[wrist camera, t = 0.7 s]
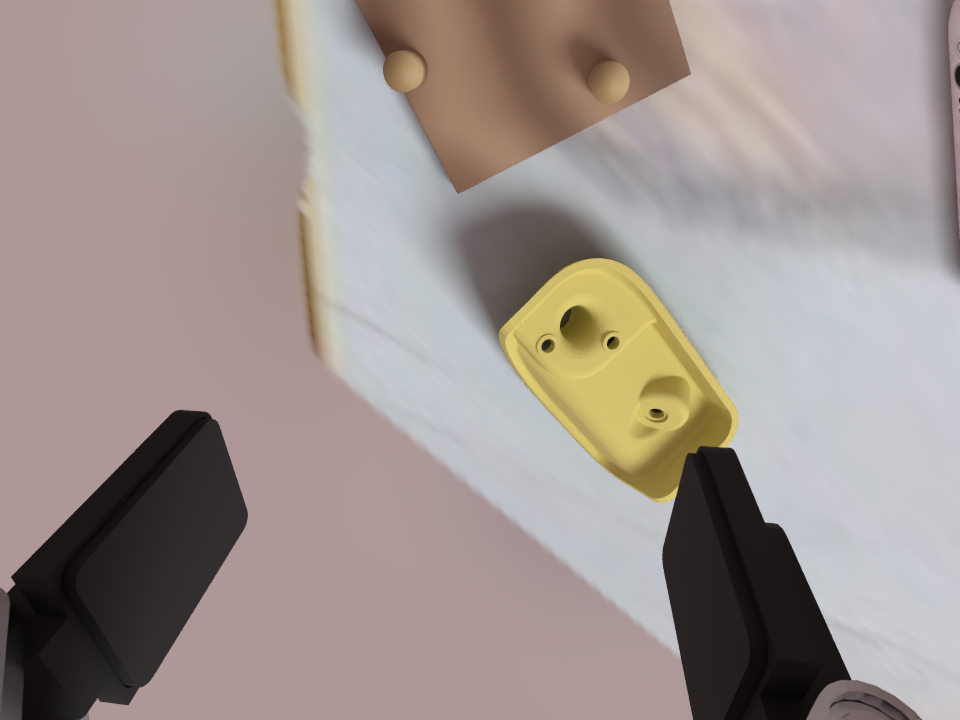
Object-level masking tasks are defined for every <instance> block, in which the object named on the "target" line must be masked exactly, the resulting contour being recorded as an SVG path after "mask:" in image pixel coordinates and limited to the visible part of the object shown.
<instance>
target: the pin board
mask: <svg viewBox="0 0 960 720" xmlns="http://www.w3.org/2000/svg"><path fill="white" fill-rule="evenodd" d="M356 1H357V3H358V5H359V7H360V9H361V11H362V13H363V15H364V16H365V18H366V20H367V22H368V24H369V26H370V28H371V30H372V32H373V34H374V36H375V37H376V39H377V41H378V43H379V45H380V47H381V49H382V51H383V53H384V55H385V57H386V60H385V62H384V66H383V74H384V78H385V80H386V82H387V84H388V85H389V86H390V87H391V88H392V89H393V90H395V91H398V92H404V93H405V95H406V97H407V98H408V100H409V102H410V104H411V106H412V108H413V110H414V112H415V114H416V116H417V118H418V119H419V121H420V123H421V125H422V127H423V129H424V131H425V133H426V135H427V137H428V139H429V140H430V142H431V144H432V146H433V148H434V150H435V152H436V154H437V156H438V158H439V160H440V161H441V163H442V165H443V167H444V169H445V171H446V173H447V175H448V177H449V179H450V181H451V182H452V184H453V186H454V188H455V190H456V192H457V194H459V193H461V192H463V191H465V190H467V189H469V188H471V187H473V186H475V185H477V184H479V183H480V182H482V181H484V180H486V179H488V178H490V177H492V176H494V175H496V174H498V173H500V172H502V171H504V170H506V169H508V168H510V167H512V166H514V165H515V164H517V163H519V162H521V161H523V160H525V159H527V158H529V157H531V156H533V155H535V154H537V153H539V152H541V151H543V150H545V149H547V148H549V147H550V146H552V145H554V144H556V143H558V142H560V141H562V140H564V139H566V138H568V137H570V136H572V135H574V134H576V133H578V132H580V131H582V130H584V129H585V128H587V127H589V126H591V125H593V124H595V123H597V122H599V121H601V120H603V119H605V118H607V117H609V116H611V115H613V114H615V113H617V112H619V111H620V110H622V109H624V108H626V107H628V106H630V105H632V104H634V103H636V102H638V101H640V100H642V99H644V98H646V97H648V96H650V95H652V94H654V93H655V92H657V91H659V90H661V89H663V88H665V87H667V86H669V85H671V84H673V83H675V82H677V81H679V80H681V79H683V78H685V77H687V76H689V75H690V74H691V72H690V69H689V66H688V62H687V59H686V56H685V53H684V49H683V46H682V43H681V39H680V36H679V33H678V29H677V26H676V23H675V19H674V16H673V13H672V9H671V6H670V3H669V0H356Z"/></svg>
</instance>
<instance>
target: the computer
mask: <svg viewBox="0 0 960 720" xmlns="http://www.w3.org/2000/svg"><path fill="white" fill-rule="evenodd" d="M948 41H949V59H950V77H951V94H952V112H953V130H954V148H955V166H956V183H957V201H958V219H959V237H960V0H954V2H953V5H952V9H951V12H950V16H949V24H948Z"/></svg>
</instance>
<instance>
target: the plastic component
mask: <svg viewBox="0 0 960 720" xmlns="http://www.w3.org/2000/svg"><path fill="white" fill-rule="evenodd" d="M569 308H571V315H570V318H569V320H568V322H567V323H566V324H565V325H564V326H563V327H561V328H560V322H561V319H562V317H563V315H564V313H565V312H566V311H567V310H568V309H569ZM613 336H614V340H613V341H612V342H611V343H610V344H609V345H608V346H607V341H608V339H609V338H610V337H613ZM547 339H550V341H551V345H550V347H549V348H548V349H547V350H542V348H541V347H542V343H543V342H544V341H545V340H547ZM499 341H500V345H501V347H502V349H503V351H504V353H505V355H506V357H507V359H508V361H509V362H510V364H511V365H512V367H513V368H514V370H515V371H516V373H517V374H518V376H519V377H520V378H521V379H522V381H523V382H524V383H525V384H526V386H527V387H528V388H529V389H530V391H531V392H532V393H533V394H534V395H535V396H536V398H537V399H538V400H539V401H540V402H541V403H542V404H543V405H544V406H545V407H546V409H547V410H548V411H549V412H550V413H551V414H552V415H553V416H554V417H555V418H556V419H557V420H558V421H559V422H560V424H561V425H562V426H563V427H564V428H565V429H566V430H567V431H568V432H569V433H570V434H571V435H572V436H573V437H574V438H575V440H576V441H577V442H578V443H579V444H580V445H581V446H582V447H583V448H584V449H585V450H586V451H587V452H588V453H589V455H590V456H591V457H592V458H593V459H595V460H596V461H597V462H598V463H599V464H600V465H601V466H602V467H603V468H605V469H606V470H607V471H608V472H610V473H611V474H612V475H614V476H615V477H616V478H618V479H619V480H621V481H622V482H624V483H625V484H627V485H629V486H630V487H632V488H634V489H635V490H637V491H638V492H640V493H642V494H643V495H645V496H647V497H648V498H650V499H652V500H653V501H655V502H658V503H664V502H668V501H670V500H672V499H673V498H674V497H675V496H676V494H677V490H678V486H679V483H680V479H681V475H682V471H683V467H684V463H685V459H686V456H687V454H688V453H696V452H697V449H698V448H699V446H710V447H725V448H726V447H727V446H728V445H729V444H730V442H731V441H732V439H733V437H734V435H735V433H736V431H737V427H738V412H737V409H736V407H735V405H734V404H733V402H732V401H731V400H730V398H729V397H728V395H727V394H726V393H725V391H724V390H723V388H722V387H721V385H720V384H719V383H718V381H717V380H716V378H715V377H714V376H713V374H712V373H711V371H710V370H709V369H708V367H707V366H706V364H705V363H704V361H703V360H702V359H701V357H700V356H699V354H698V353H697V352H696V350H695V349H694V347H693V346H692V345H691V343H690V342H689V340H688V339H687V338H686V336H685V335H684V333H683V332H682V330H681V329H680V328H679V326H678V325H677V323H676V322H675V321H674V319H673V318H672V316H671V315H670V314H669V312H668V311H667V309H666V308H665V307H664V305H663V304H662V303H661V301H660V300H659V299H658V297H657V296H656V295H655V293H654V292H653V291H652V290H651V288H650V287H649V286H648V285H647V284H646V283H645V281H644V280H643V279H642V278H641V277H640V276H639V275H638V274H636V273H635V272H634V271H633V270H631V269H630V268H629V267H627V266H625V265H623V264H621V263H620V262H617V261H614V260H610V259H604V258H589V259H584V260H580V261H576V262H574V263H571V264H569V265H567V266H565V267H564V268H562V269H561V270H560V271H558V272H557V273H556V274H555V275H554V276H553V277H551V278H550V279H549V280H548V281H547V282H546V283H545V284H544V285H543V286H542V287H541V288H540V289H539V290H538V291H537V292H536V293H535V295H534V296H533V297H532V298H531V299H530V300H529V301H528V302H527V303H526V304H525V305H524V306H523V307H522V308H521V309H520V310H519V311H518V312H517V313H516V314H515V315H514V316H513V317H512V318H511V319H510V320H509V321H508V322H507V323H506V324H505V325H504V326H503V327H502V328H501V329H500V331H499ZM651 409H660V410H662V411H663V412H661V413H656V412H653V411H651Z"/></svg>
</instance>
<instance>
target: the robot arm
mask: <svg viewBox="0 0 960 720" xmlns="http://www.w3.org/2000/svg"><path fill="white" fill-rule="evenodd" d="M247 518H248V513H247V508H246V505H245V502H244V499H243V496H242V493H241V490H240V487H239V484H238V481H237V478H236V475H235V472H234V469H233V466H232V463H231V459H230V456H229V453H228V450H227V447H226V444H225V441H224V438H223V436H222V432H221V429H220V426H219V424H218V422H217V421H216V420H213V419H212V417H211V416H210V414H209V413H207V412H202V411H187V410H177V411H175V412H173V413H172V414H171V415H170V416H169V417H168V418H167V419H166V420H165V421H164V422H163V423H162V424H161V425H160V426H159V427H158V428H157V429H156V430H155V431H154V432H153V433H152V434H151V435H150V436H149V437H148V438H147V439H146V440H145V441H144V442H143V443H142V444H141V445H140V446H139V447H138V448H137V449H136V450H135V452H134V453H132V454H131V455H130V456H129V458H128V459H126V460H125V461H124V463H123V464H122V465H121V466H120V467H119V468H118V469H117V470H116V471H115V472H114V473H113V474H112V475H111V476H110V477H109V478H108V479H107V480H106V481H105V482H104V483H103V484H102V485H101V486H100V487H99V488H98V489H97V490H96V491H95V492H94V493H93V494H92V495H91V496H90V497H89V498H88V499H87V500H86V501H85V502H84V503H83V504H82V505H81V506H80V507H79V508H78V509H77V510H76V511H75V512H74V513H73V515H71V516H70V517H69V518H68V519H67V521H65V523H64V524H63V525H62V526H61V527H60V528H59V529H58V530H57V531H56V532H55V533H54V534H53V535H52V536H51V537H50V538H49V539H48V540H47V541H46V542H45V543H44V544H43V545H42V546H41V547H40V548H39V549H38V550H37V551H36V552H35V553H34V554H33V555H32V556H31V557H30V558H29V559H28V560H27V561H26V562H25V563H24V564H23V565H22V566H21V567H20V568H19V569H18V570H17V571H16V573H14V575H12V577H11V578H12V579H13V581H14V582H15V585H14V586H13V587H12V588H11V589H10V591H9V592H8V593H6V592H5V591H4V590H3V589H1V588H0V720H89V713H88V711H89V710H90V708H91V707H92V705H93V704H94V702H95V701H96V699H97V698H98V699H99V700H100V702H108V703H116V704H123V705H129V703H130V702H131V700H132V699H133V697H134V695H135V694H136V692H137V690H138V689H139V687H143V686H145V685H146V684H147V683H148V682H149V681H150V680H151V679H152V677H153V676H154V674H155V673H156V671H157V670H158V668H159V666H160V665H161V663H162V661H163V660H164V658H165V656H166V655H167V653H168V652H169V650H170V648H171V647H172V645H173V644H174V642H175V640H176V639H177V637H178V635H179V634H180V632H181V631H182V629H183V627H184V626H185V624H186V622H187V621H188V619H189V617H190V616H191V614H192V613H193V611H194V609H195V608H196V606H197V604H198V603H199V601H200V600H201V598H202V596H203V594H204V593H205V592H206V590H207V588H208V586H209V585H210V583H211V582H212V580H213V579H214V577H215V575H216V574H217V572H218V570H219V569H220V567H221V566H222V564H223V562H224V561H225V559H226V557H227V556H228V554H229V552H230V551H231V549H232V548H233V546H234V545H235V543H236V541H237V540H238V538H239V536H240V535H241V533H242V532H243V530H244V528H245V526H246V523H247ZM662 560H663V569H664V574H665V579H666V584H667V589H668V594H669V599H670V604H671V609H672V614H673V619H674V624H675V630H676V635H677V640H678V645H679V650H680V655H681V660H682V665H683V670H684V675H685V680H686V685H687V690H688V695H689V701H690V706H691V711H692V715H693V720H922V719H921V718H920V717H919V716H918V715H917V714H916V712H915V711H913V710H912V709H911V708H910V707H908V706H907V705H906V704H905V703H903V702H902V701H901V700H899V699H898V698H897V697H896V696H894V695H892V694H890V693H888V692H886V691H884V690H883V689H881V688H879V687H877V686H874V685H871V684H868V683H864V682H861V681H858V680H851V678H850V675H849V673H848V671H847V669H846V667H845V664H844V662H843V660H842V658H841V655H840V653H839V651H838V649H837V647H836V644H835V642H834V640H833V638H832V635H831V633H830V631H829V629H828V627H827V624H826V622H825V620H824V618H823V615H822V613H821V611H820V609H819V607H818V604H817V602H816V600H815V598H814V595H813V593H812V591H811V589H810V587H809V584H808V582H807V580H806V578H805V575H804V573H803V571H802V569H801V567H800V564H799V562H798V560H797V558H796V555H795V553H794V551H793V549H792V547H791V544H790V542H789V540H788V538H787V536H786V534H785V532H784V530H783V529H782V528H781V527H780V526H779V525H778V524H774V523H765V522H764V519H763V517H762V515H761V512H760V510H759V507H758V505H757V503H756V500H755V498H754V495H753V493H752V491H751V488H750V486H749V483H748V481H747V479H746V476H745V474H744V472H743V469H742V467H741V464H740V462H739V460H738V457H737V455H736V453H735V451H734V450H733V449H732V448H725V447H710V446H699V448H698V449H697V452H696V453H688V454H687V456H686V459H685V463H684V467H683V471H682V475H681V479H680V483H679V486H678V490H677V494H676V498H675V502H674V506H673V510H672V514H671V518H670V522H669V526H668V530H667V534H666V538H665V542H664V546H663V554H662Z"/></svg>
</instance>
